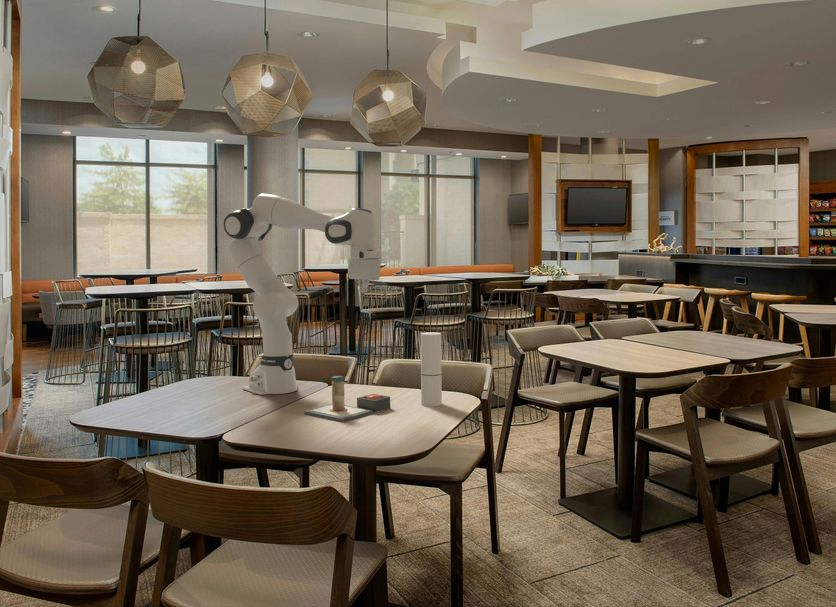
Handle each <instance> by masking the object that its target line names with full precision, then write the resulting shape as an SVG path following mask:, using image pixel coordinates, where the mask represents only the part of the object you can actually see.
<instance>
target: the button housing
mask: <svg viewBox="0 0 836 607" xmlns="http://www.w3.org/2000/svg"><path fill="white" fill-rule="evenodd" d="M368 395H378V393H377V394H376V393H371V394H367V395H363V396H359V397H357V398H356V407H357V408H362V409H368V410H373V414H374V413H375V414H376V413H378V412H383V411H386V410H388V409H391V396H388V395H383V394H379V395H380V398H379V399H376V400H372V399H367V396H368ZM382 410H383V411H382Z"/></svg>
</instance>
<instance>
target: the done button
mask: <svg viewBox="0 0 836 607" xmlns="http://www.w3.org/2000/svg"><path fill="white" fill-rule="evenodd" d="M367 395H368V396H367V399H372V400H376V399H379V398H380V395H381V394H377V395H370V394H367Z"/></svg>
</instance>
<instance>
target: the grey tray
mask: <svg viewBox="0 0 836 607" xmlns="http://www.w3.org/2000/svg"><path fill="white" fill-rule="evenodd" d="M303 413H304V415H306V416H311V417H316V418H321V419H326V420H330V421H331V420H332V421H336V422H339V423H340V422H341V423H345V422H349V421H352V420H356V419H358V418H362V417H365V416H369V415H372V414H374V413H373V410H368V409H362V408H357V406H349V405H345V410H343V411H333V408H332V403H330V404H327V405H322V406H319V407H315V408H310V409H307V410H303Z"/></svg>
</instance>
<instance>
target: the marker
mask: <svg viewBox="0 0 836 607" xmlns="http://www.w3.org/2000/svg"><path fill="white" fill-rule="evenodd" d="M331 394H332V395H331V396H332V397H331V400H332V402H331V404H332V408H333V411H343V410H345V376H343V375H334V376H331Z"/></svg>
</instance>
